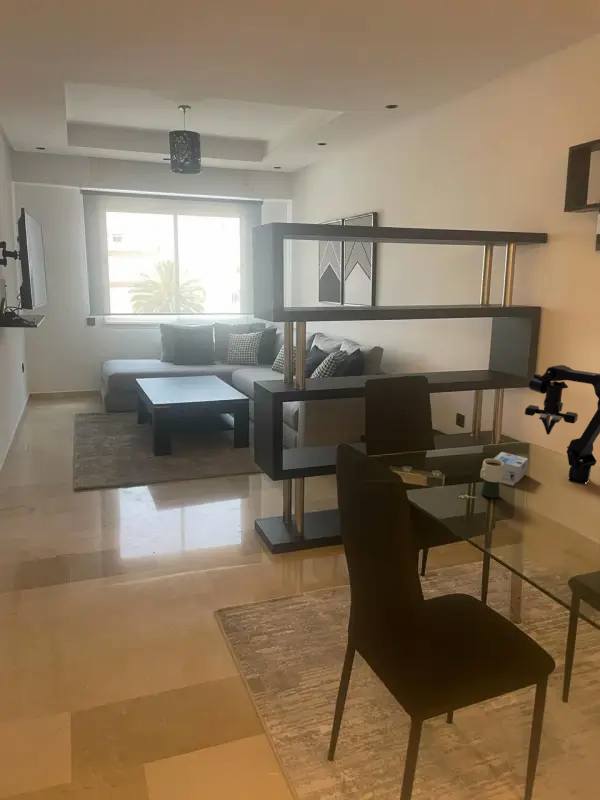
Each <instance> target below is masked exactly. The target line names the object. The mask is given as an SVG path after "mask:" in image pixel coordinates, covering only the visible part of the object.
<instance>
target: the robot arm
mask: <svg viewBox="0 0 600 800" xmlns="http://www.w3.org/2000/svg"><path fill="white" fill-rule="evenodd" d="M565 381H570V382H576V383H581V384H582V383H583V384H589V385H592V387H593V389H594V394H595V396H596V397H597V398H598V401H597V402H596V403H597V410H596V411H595V413H594V414H593V417H591V419H590V421H589V423H588V424H587V426H586V428H585V429H584V431H583V433H582V434H581V436H580V437H579V438H575V439H571V440H570V442H569V445H568V446H566V449H567V450H566V454H567V455H566V456H567V460H568V465H569V466H570V467H569V470H568V482H573V483H577V484H581V485H584V484H585V482H587V481H588V480H589V478H590V477H591V470H592V467H593V466H595V465H596V464H597V460H596V457H595V456H594V454H593V451H594V442H595V441H596V440H597V438H598V436H599V435H600V373H597V372H589V371H582V370H577V369H576V370H575V369H572V368H571V367H569V366H567V365H564V364H559V365H551V366H548V367H547V369H546V371H545V372H544V373H543V374H542V375H541V374H533V377H532V378H531V380H530V382H528V388H529V390H531V391H534V392H536V393H539V394H543V395H544V394H545V397H544V400H543V409H540V406H538V405H533V404H529V405H528V406H526V408H525V409H524V415H526V416H531V417H532V416H534V415H536V414H538V415H539V418H538V419H539V420H541V421H542V422H541V423H542V424H543V426H544V429H545V432H546V435H550V434H551V433H552V430H553V428H554V427H555V425H556V424H558V423H560V421H562V419H563V421H564V422H565V423H567V424H568V423H569V424H575V423H576V422H577V420H578V417H579V414H578V413H577V412H572V411H567V412H565V413H563V412H562V411H563V405H564V403H563V402H562V394H563V389H568V388H569V386H568V384H566V383H565ZM551 417H552V418H551ZM590 479H591V478H590Z"/></svg>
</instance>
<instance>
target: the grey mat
mask: <svg viewBox="0 0 600 800" xmlns="http://www.w3.org/2000/svg"><path fill="white" fill-rule="evenodd" d="M516 483H517V482H514V481H511V480H507V479H504V478H502V480H501V481H500V482H499V484H503V485H508V486H513V487H514V485H515V484H516Z"/></svg>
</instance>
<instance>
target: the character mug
mask: <svg viewBox="0 0 600 800" xmlns="http://www.w3.org/2000/svg"><path fill="white" fill-rule="evenodd" d="M504 470H505V465H504V463H503V462H502V461H500V460H497V459H494V458H485V459H484V460H483V462H482V467H481V469H480V473H479V476H480V479H483V483H482V487H481V491H480V493H481V495H482V496H484V497H487V498H490V499H497V498H498V497H499V496H500V481H501V480H502V478H503V473H504Z"/></svg>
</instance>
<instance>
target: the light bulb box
mask: <svg viewBox="0 0 600 800" xmlns="http://www.w3.org/2000/svg"><path fill="white" fill-rule="evenodd" d="M493 459H497V460H500V461H502V462H503V463H504V465H505V470H504V473H503V478H504V479H507V480H511V481H514V482H516V483H518V482H520V480H521V479H522V478H523V477H524V476H525V475H526V474H527V471H528V465H529V458H527V457H524V456H521V455H520V456H519V455H516V454H512V453H508V452H504V451H501V452H499V454H497V455H496V456H495V457H494V458H493Z"/></svg>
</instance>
